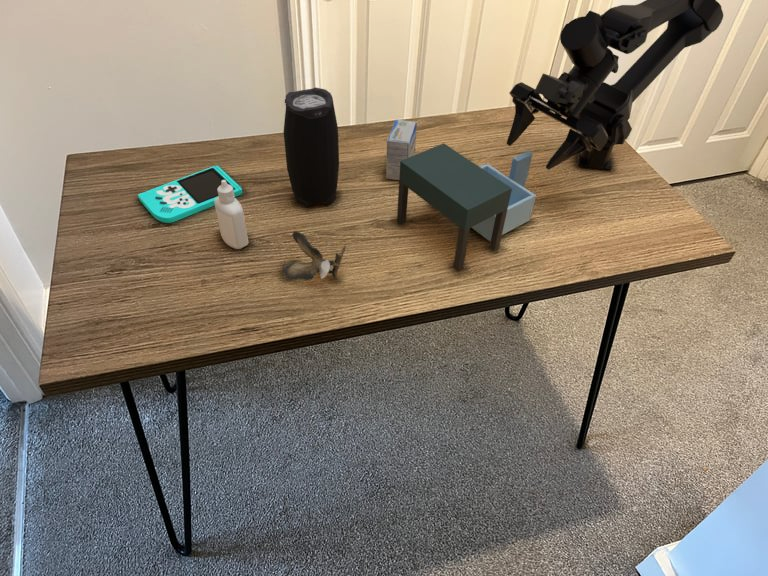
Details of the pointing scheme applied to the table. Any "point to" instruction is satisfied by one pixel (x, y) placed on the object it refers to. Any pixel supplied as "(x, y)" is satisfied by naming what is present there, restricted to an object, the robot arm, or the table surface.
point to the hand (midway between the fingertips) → (527, 156)
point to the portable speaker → (311, 146)
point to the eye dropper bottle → (230, 217)
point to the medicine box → (400, 146)
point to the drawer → (512, 196)
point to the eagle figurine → (317, 265)
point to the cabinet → (454, 193)
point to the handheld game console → (186, 195)
